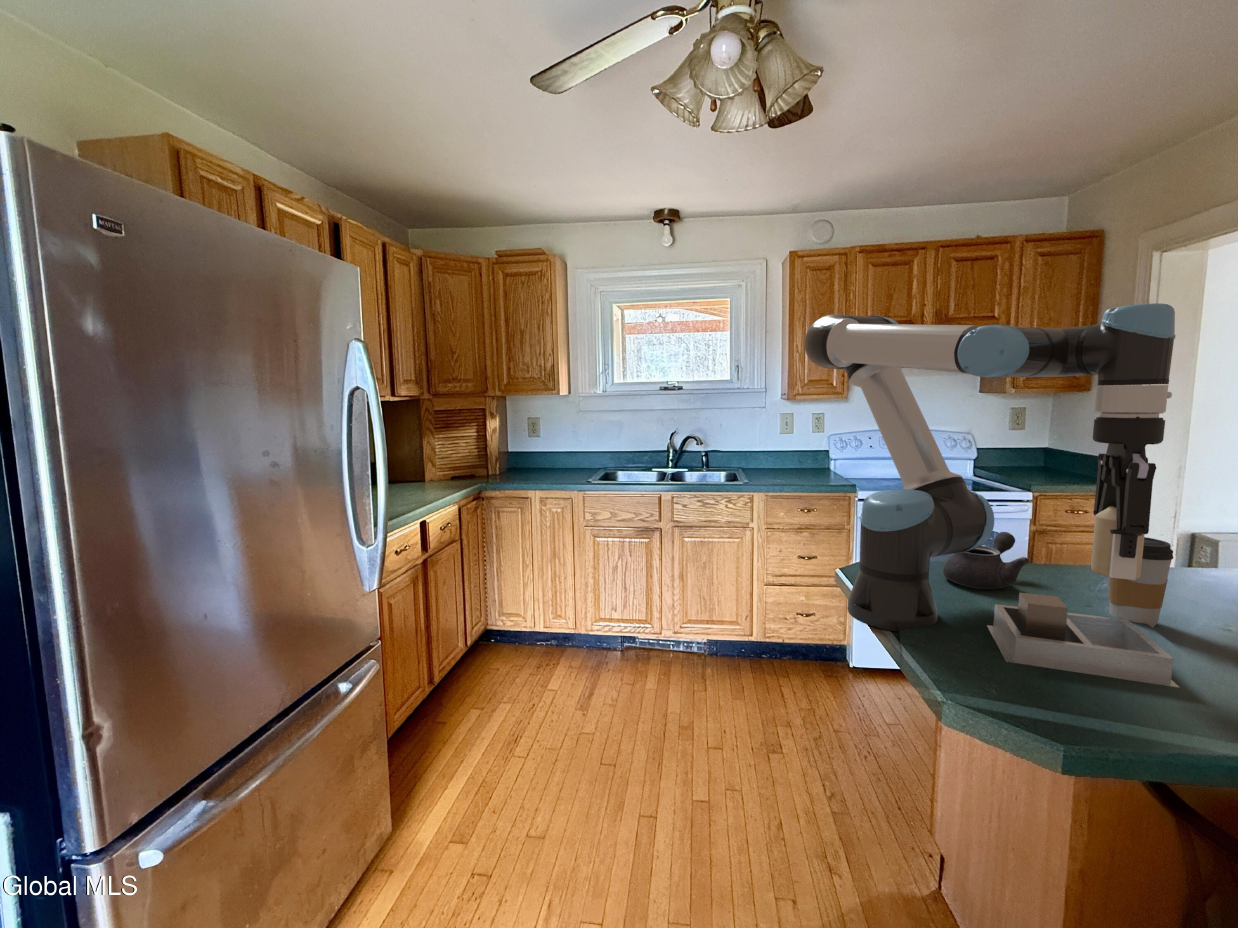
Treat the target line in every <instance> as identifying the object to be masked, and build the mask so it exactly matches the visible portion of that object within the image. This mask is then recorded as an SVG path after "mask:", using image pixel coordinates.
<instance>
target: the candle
mask: <svg viewBox="0 0 1238 928" xmlns="http://www.w3.org/2000/svg"><path fill="white" fill-rule="evenodd" d="M1132 525H1135V524H1132ZM1113 529H1115V530H1116V529H1117V509H1116V508H1115V507H1112V506H1109V507H1108V508H1107V509H1105V510H1103V511H1101V512H1100V513H1098V514H1096V515H1094V527H1093V538H1092V551H1091V562H1090V565H1091V566H1090V571H1091V572H1092V573H1094V574H1097V575H1100V576H1104V577H1108V578H1109V577H1110V576H1109V572H1110V561H1111V550H1112V540H1113V534H1111V533H1110V530H1113ZM1145 535H1146V534H1142V535H1141V536H1140V540H1139V550H1138V560H1137V570H1136V579H1138V578H1140V575H1141V567H1142V556H1143V546H1144V537H1145ZM1119 579H1120V578H1119Z"/></svg>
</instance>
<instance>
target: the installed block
mask: <svg viewBox="0 0 1238 928" xmlns="http://www.w3.org/2000/svg"><path fill="white" fill-rule="evenodd" d="M1017 605H1018V606H1017V607H1018V615H1017V628H1018V630H1019V631H1020V633H1021V634H1022V636H1028V637H1035V638H1043V639H1050V640H1058V641H1065V633H1066V623H1067V613H1069V608H1068V607H1067V606H1066V605H1065V603H1064V602H1063V601H1062V600H1061V599H1060V598H1059V597H1058V596H1054V595H1046V594H1045V595H1044V594H1037V593H1036V594H1035V593H1027V592H1019V593H1018V603H1017Z"/></svg>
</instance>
